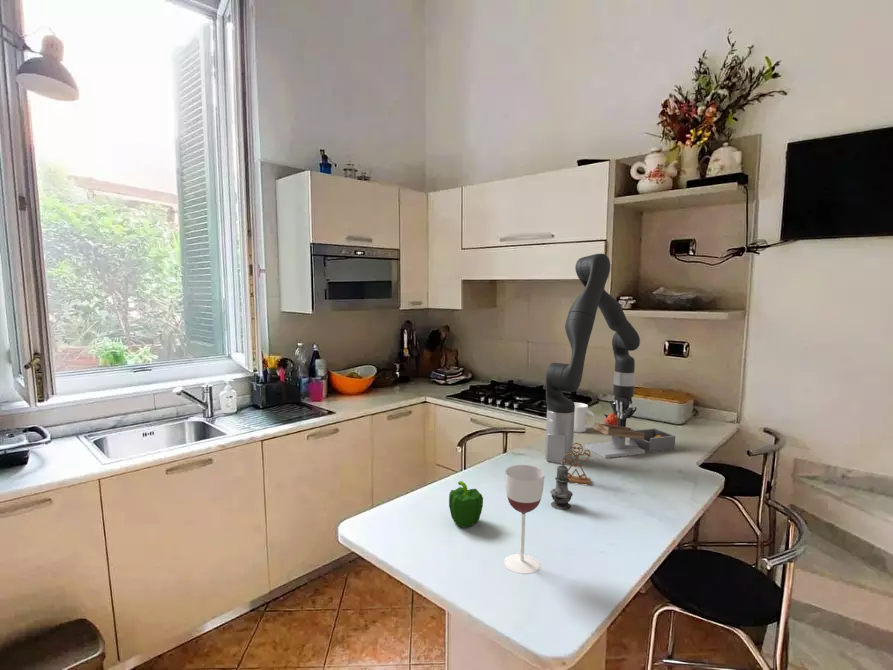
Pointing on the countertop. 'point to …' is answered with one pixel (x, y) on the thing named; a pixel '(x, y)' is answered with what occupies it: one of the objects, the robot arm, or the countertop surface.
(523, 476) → the wineglass
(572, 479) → the gingerbread man figurine
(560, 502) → the salt shaker
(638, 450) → the base
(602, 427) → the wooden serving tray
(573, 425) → the robot arm
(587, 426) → the mug
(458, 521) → the bell pepper
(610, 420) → the pomegranate
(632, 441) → the grey open box
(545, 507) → the countertop surface
